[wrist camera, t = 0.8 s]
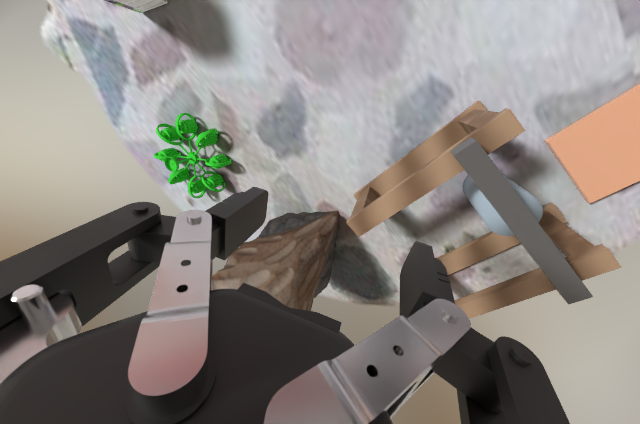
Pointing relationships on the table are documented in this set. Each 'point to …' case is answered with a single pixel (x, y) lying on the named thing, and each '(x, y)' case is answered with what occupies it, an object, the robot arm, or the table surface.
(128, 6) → the syrup box
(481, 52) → the table surface
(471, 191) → the grey-blue cylinder
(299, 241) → the brown pointed rock
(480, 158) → the bar
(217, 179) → the chandelier
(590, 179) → the terracotta tile
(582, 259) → the gantry
